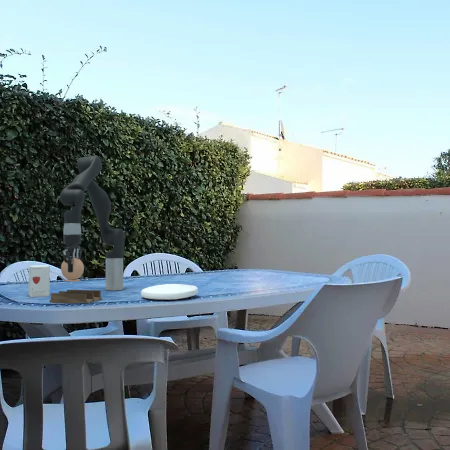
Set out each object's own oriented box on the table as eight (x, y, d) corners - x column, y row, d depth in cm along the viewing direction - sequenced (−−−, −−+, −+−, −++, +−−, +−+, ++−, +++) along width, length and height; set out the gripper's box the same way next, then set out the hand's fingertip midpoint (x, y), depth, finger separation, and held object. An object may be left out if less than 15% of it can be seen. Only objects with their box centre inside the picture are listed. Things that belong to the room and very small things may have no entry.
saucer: (64, 280, 220) (64, 257, 220) (84, 280, 217) (84, 257, 218) (60, 281, 217) (60, 257, 217) (80, 281, 214) (80, 257, 215)
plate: (181, 292, 213) (129, 290, 223) (182, 307, 213) (130, 304, 223) (206, 279, 239) (159, 278, 249) (207, 292, 239) (160, 290, 249)
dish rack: (66, 298, 229) (66, 289, 229) (101, 299, 225) (101, 290, 225) (49, 302, 215) (49, 293, 215) (86, 303, 211) (86, 294, 211)
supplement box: (30, 297, 233) (30, 266, 233) (28, 295, 241) (28, 265, 241) (49, 296, 237) (50, 265, 238) (47, 294, 245) (47, 264, 245)
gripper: (73, 233, 225) (73, 270, 225) (56, 233, 212) (56, 273, 211) (87, 233, 223) (87, 271, 223) (71, 233, 210) (71, 273, 210)
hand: (72, 271), depth 217 cm, fingers closed on saucer, 2 cm apart
